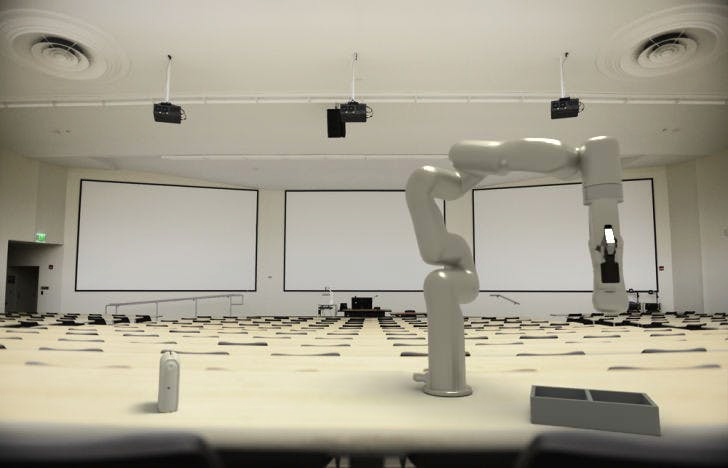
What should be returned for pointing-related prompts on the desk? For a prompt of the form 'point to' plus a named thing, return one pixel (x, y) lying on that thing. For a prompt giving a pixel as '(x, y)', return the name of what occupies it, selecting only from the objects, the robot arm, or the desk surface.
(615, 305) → the plastic bottle
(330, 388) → the desk surface
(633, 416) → the grey divided tray
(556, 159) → the robot arm
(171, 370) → the grey rounded block
